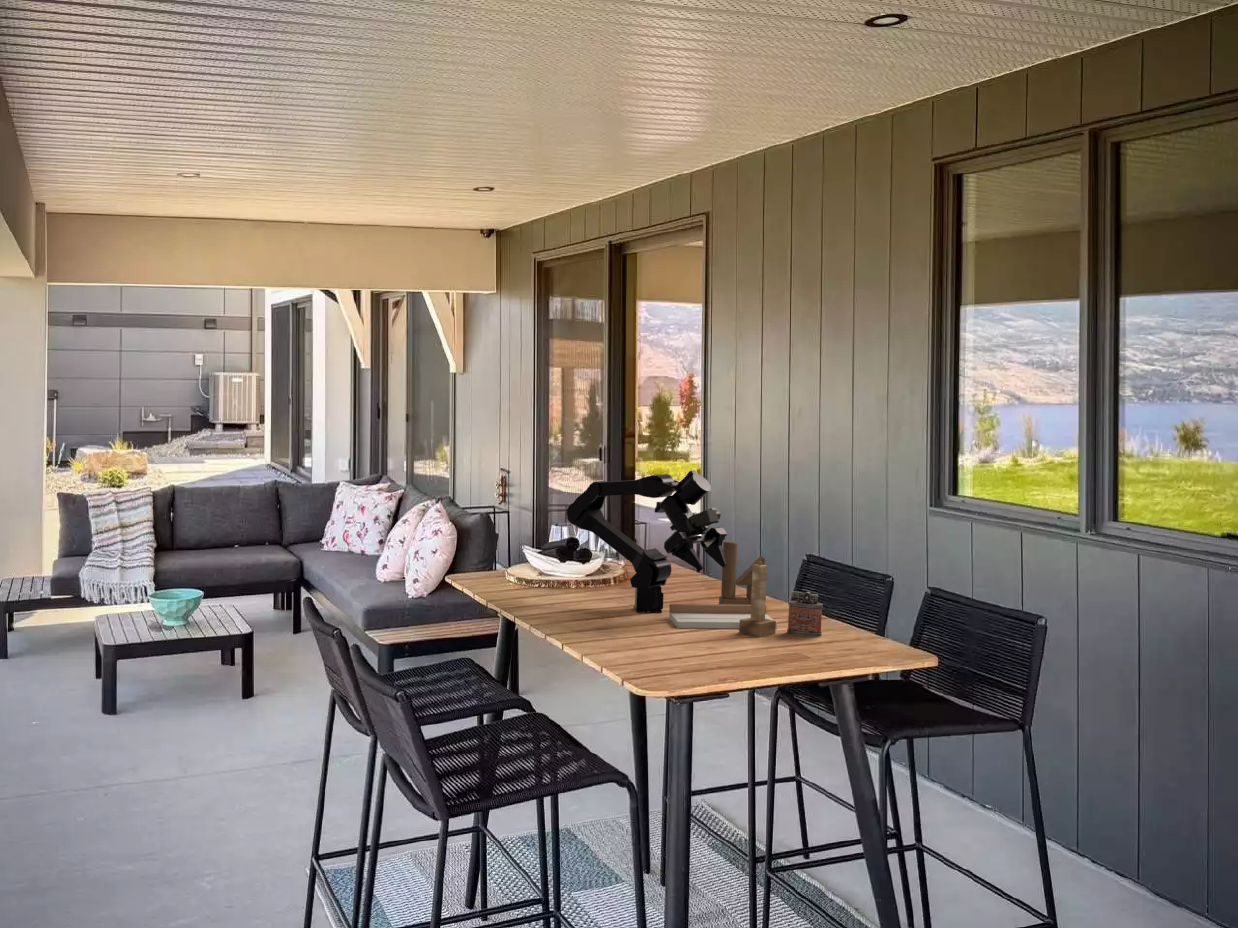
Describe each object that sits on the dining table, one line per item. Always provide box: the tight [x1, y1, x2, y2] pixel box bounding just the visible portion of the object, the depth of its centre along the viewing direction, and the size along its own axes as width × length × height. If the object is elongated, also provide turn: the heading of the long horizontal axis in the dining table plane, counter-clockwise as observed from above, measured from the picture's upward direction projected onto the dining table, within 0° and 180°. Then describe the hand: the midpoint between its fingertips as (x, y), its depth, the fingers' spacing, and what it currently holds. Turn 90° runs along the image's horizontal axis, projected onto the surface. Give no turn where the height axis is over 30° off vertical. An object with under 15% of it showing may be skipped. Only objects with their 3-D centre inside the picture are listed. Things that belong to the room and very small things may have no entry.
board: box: [668, 603, 778, 630], centre depth 285 cm, size 24×12×4 cm, turn 97°
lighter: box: [786, 590, 824, 638], centre depth 275 cm, size 8×3×10 cm, turn 71°
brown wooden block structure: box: [718, 540, 766, 605], centre depth 300 cm, size 4×11×18 cm, turn 100°
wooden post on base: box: [738, 561, 777, 638], centre depth 274 cm, size 6×6×17 cm
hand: (713, 567), depth 285 cm, fingers open, 9 cm apart
